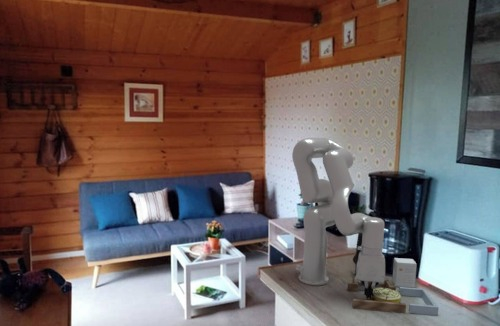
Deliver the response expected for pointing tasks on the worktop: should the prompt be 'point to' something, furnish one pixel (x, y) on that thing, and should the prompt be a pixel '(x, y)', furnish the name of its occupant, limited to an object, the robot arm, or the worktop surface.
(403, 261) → the small box
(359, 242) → the portable speaker
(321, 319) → the worktop surface
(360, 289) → the mat
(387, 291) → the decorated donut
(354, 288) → the low maze walls
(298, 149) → the robot arm
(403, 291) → the frame
